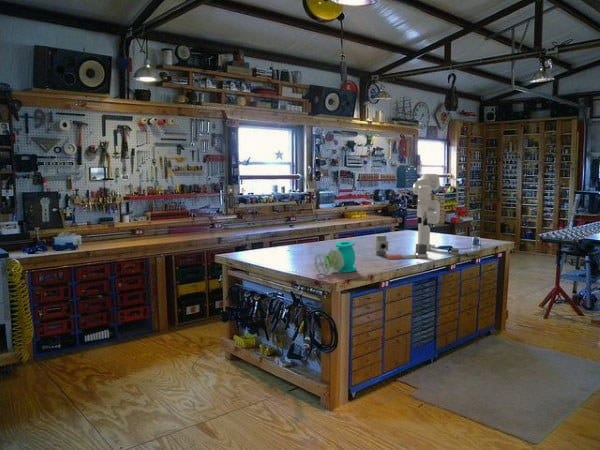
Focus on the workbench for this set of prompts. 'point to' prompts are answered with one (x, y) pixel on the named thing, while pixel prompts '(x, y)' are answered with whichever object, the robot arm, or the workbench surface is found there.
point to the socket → (421, 248)
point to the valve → (338, 258)
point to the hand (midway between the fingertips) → (422, 224)
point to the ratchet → (406, 256)
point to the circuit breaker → (380, 245)
